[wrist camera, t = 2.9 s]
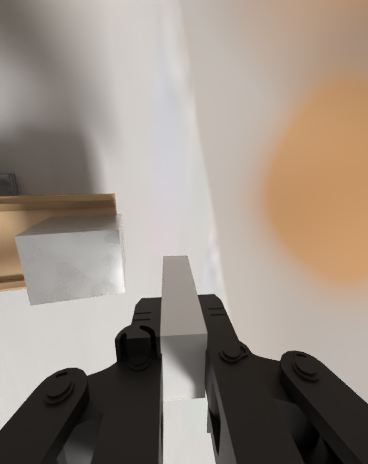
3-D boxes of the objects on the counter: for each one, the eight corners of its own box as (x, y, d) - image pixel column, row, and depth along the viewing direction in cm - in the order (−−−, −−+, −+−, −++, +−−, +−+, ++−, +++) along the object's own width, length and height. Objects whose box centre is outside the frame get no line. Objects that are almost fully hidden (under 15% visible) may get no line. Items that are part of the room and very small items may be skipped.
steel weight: (49, 216, 18) (14, 236, 12) (121, 213, 19) (119, 229, 14) (58, 267, 19) (30, 305, 13) (125, 260, 21) (124, 292, 15)
